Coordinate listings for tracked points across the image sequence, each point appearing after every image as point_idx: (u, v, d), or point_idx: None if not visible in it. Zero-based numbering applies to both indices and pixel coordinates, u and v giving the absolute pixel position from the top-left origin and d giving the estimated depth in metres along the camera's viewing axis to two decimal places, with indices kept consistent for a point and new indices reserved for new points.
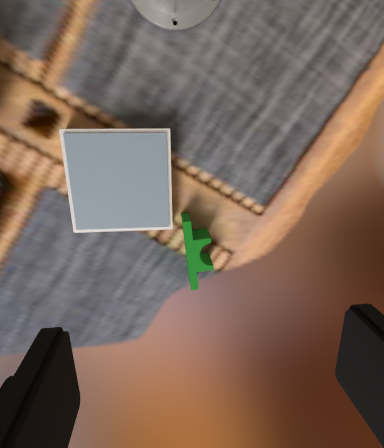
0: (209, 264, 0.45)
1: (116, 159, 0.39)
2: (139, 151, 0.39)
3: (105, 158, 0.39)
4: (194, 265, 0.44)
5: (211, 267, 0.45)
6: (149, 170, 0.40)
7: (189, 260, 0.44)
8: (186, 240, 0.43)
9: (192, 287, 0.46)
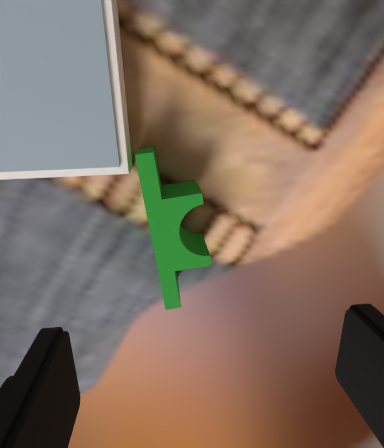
0: (202, 253, 0.21)
1: None
2: None
3: None
4: (168, 255, 0.20)
5: (206, 260, 0.21)
6: (56, 16, 0.16)
7: (157, 245, 0.20)
8: (146, 199, 0.19)
9: (167, 303, 0.21)
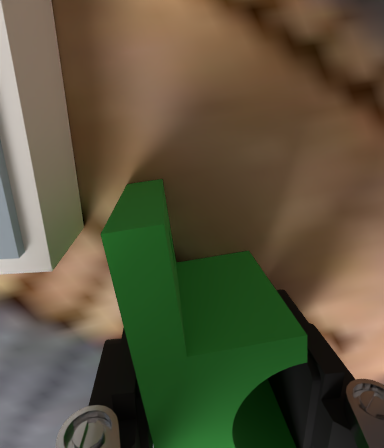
0: None
1: None
2: None
3: None
4: None
5: None
6: None
7: None
8: (140, 359, 0.06)
9: None
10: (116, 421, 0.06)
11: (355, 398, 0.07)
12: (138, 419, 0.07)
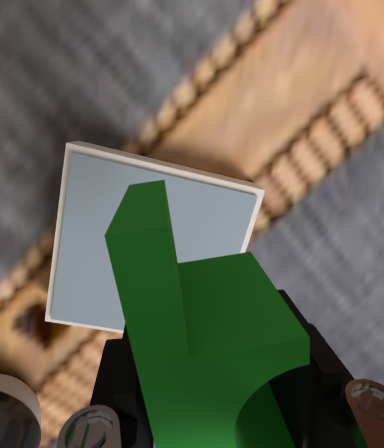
0: None
1: (106, 253, 0.22)
2: (100, 211, 0.21)
3: (101, 270, 0.22)
4: None
5: None
6: None
7: None
8: (143, 360, 0.06)
9: None
10: (117, 420, 0.06)
11: (354, 398, 0.07)
12: (139, 419, 0.07)
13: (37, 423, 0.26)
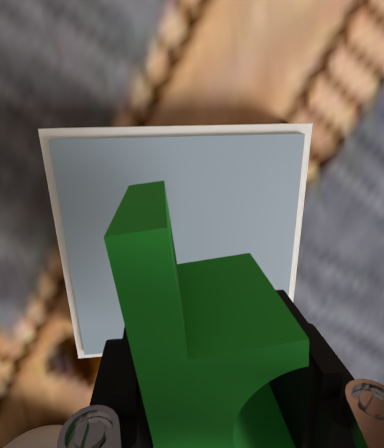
0: None
1: None
2: (106, 207, 0.16)
3: None
4: None
5: None
6: None
7: None
8: (142, 362, 0.06)
9: None
10: (117, 420, 0.06)
11: (354, 398, 0.07)
12: (139, 419, 0.07)
13: None
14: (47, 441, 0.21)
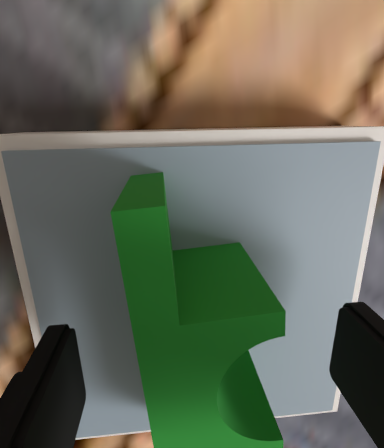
0: (262, 429, 0.09)
1: (124, 318, 0.12)
2: (90, 248, 0.11)
3: (124, 347, 0.12)
4: (185, 443, 0.08)
5: None
6: None
7: (159, 424, 0.08)
8: (139, 325, 0.07)
9: None
10: None
11: None
12: None
13: None
14: None
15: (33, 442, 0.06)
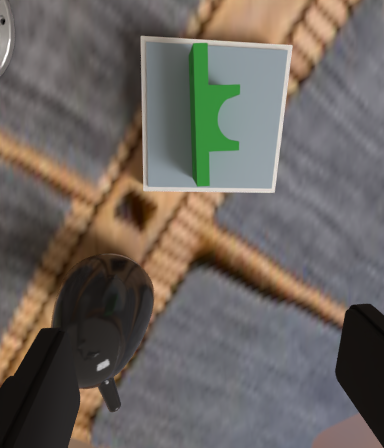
0: (232, 140, 0.26)
1: (182, 122, 0.29)
2: (172, 86, 0.28)
3: (180, 137, 0.29)
4: (206, 136, 0.25)
5: (235, 145, 0.26)
6: None
7: (198, 126, 0.25)
8: (196, 83, 0.24)
9: (199, 181, 0.26)
10: None
11: None
12: None
13: (150, 279, 0.33)
14: (115, 255, 0.33)
15: None
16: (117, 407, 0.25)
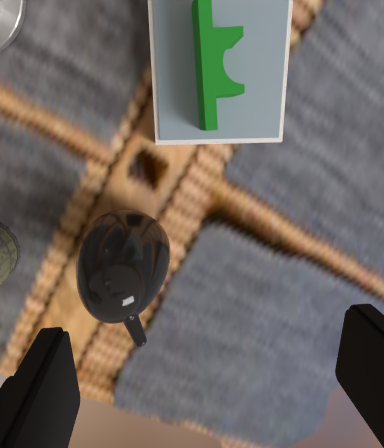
0: None
1: (190, 74, 0.30)
2: (179, 38, 0.29)
3: (189, 89, 0.30)
4: (212, 79, 0.26)
5: (241, 87, 0.27)
6: None
7: (205, 69, 0.26)
8: (201, 26, 0.25)
9: (208, 125, 0.27)
10: None
11: None
12: None
13: None
14: None
15: None
16: (143, 342, 0.27)
